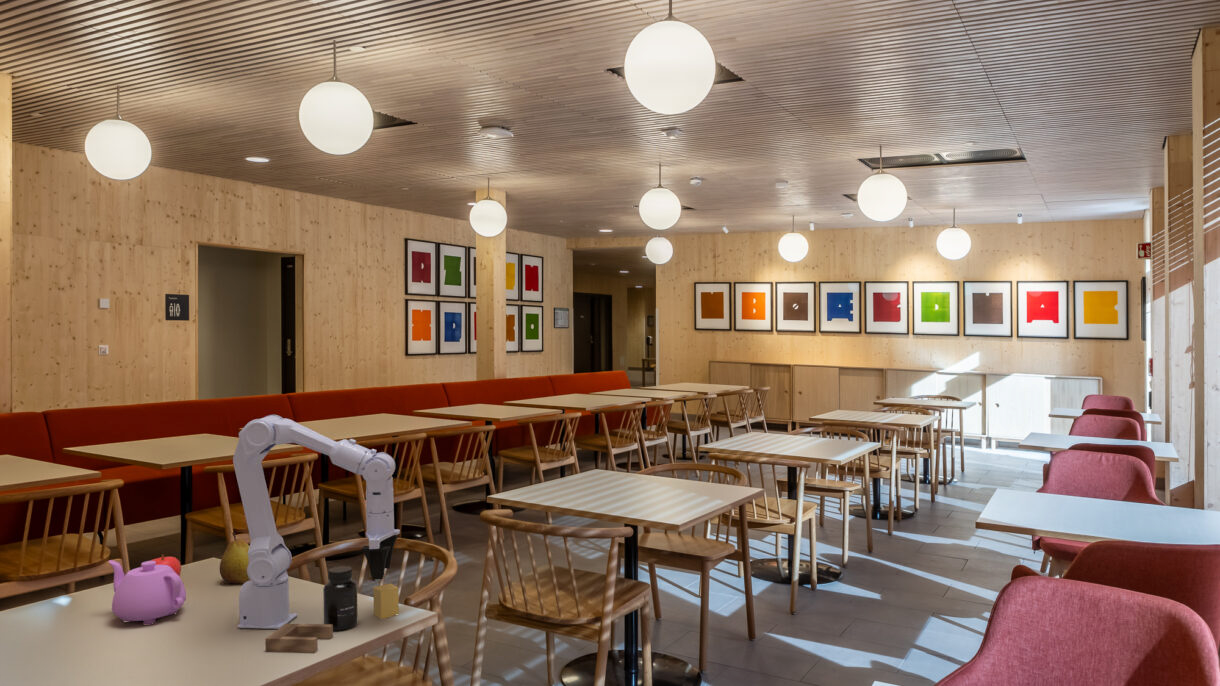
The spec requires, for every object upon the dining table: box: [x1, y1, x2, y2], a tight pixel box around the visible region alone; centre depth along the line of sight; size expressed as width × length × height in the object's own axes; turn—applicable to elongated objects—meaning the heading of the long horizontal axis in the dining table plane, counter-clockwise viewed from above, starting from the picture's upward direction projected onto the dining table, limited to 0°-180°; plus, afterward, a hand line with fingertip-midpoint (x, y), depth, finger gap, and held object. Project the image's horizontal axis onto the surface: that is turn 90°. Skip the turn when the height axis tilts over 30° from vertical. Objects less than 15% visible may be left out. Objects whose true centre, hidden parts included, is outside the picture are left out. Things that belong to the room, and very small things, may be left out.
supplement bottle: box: [322, 565, 359, 632], centre depth 170 cm, size 7×7×12 cm
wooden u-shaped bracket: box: [264, 623, 334, 654], centre depth 161 cm, size 10×8×2 cm
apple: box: [150, 554, 182, 578], centre depth 199 cm, size 8×8×8 cm
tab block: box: [372, 583, 400, 620], centre depth 177 cm, size 4×4×6 cm
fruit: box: [219, 532, 251, 585], centre depth 202 cm, size 9×9×12 cm
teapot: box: [108, 559, 187, 625], centre depth 178 cm, size 20×14×12 cm
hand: (381, 573), depth 174 cm, fingers open, 7 cm apart
